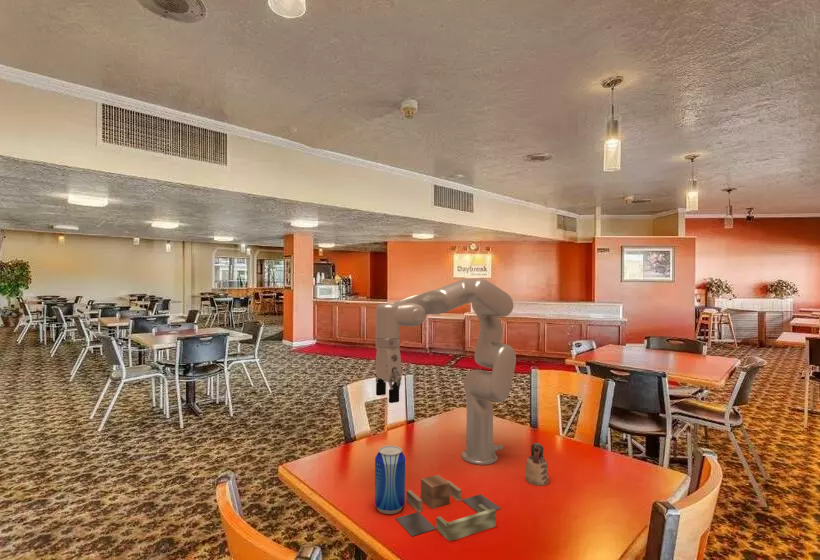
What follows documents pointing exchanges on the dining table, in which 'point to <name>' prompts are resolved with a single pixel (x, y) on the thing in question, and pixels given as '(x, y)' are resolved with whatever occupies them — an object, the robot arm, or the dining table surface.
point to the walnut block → (435, 491)
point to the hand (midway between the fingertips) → (387, 398)
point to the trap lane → (453, 529)
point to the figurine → (536, 467)
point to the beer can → (390, 480)
